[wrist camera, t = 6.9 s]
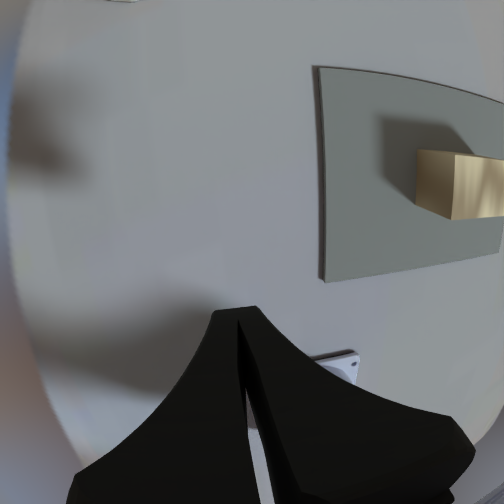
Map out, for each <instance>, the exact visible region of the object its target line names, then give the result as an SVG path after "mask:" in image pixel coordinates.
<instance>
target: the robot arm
mask: <svg viewBox="0 0 504 504" xmlns="http://www.w3.org/2000/svg"><path fill="white" fill-rule="evenodd" d="M359 361H360V356H359V354H358V353H350V354H346V355H341V356H337V357H332V358H327V359H322V360H317V361H314V360H312V359H311V358H310V357H308V356H307V355H306V354H305V353H303V352H302V351H301V350H299V349H298V348H297V347H296V346H295V345H294V344H293V343H291V342H290V341H289V340H288V339H287V338H286V337H285V336H284V335H283V334H282V333H281V332H280V331H279V330H278V329H277V328H276V327H275V326H274V325H273V324H272V323H271V322H270V321H269V320H268V319H267V317H266V316H265V315H264V314H263V313H262V311H261V310H260V309H259V308H258V307H257V306H248V307H240V308H232V309H223V310H215V311H214V312H213V313H212V316H211V320H210V323H209V325H208V328H207V330H206V333H205V335H204V337H203V339H202V341H201V343H200V345H199V347H198V349H197V351H196V353H195V355H194V357H193V358H192V360H191V362H190V363H189V365H188V367H187V368H186V370H185V372H184V373H183V375H182V376H181V378H180V379H179V381H178V382H177V383H176V385H175V386H174V388H173V389H172V390H171V391H170V393H169V394H168V395H167V397H166V398H165V399H164V400H163V401H162V403H161V404H160V405H159V406H158V407H157V408H156V409H155V411H154V412H153V413H152V414H151V415H150V416H149V417H148V418H147V419H146V420H145V421H144V422H143V423H142V424H141V425H140V426H139V427H138V428H137V429H136V430H134V431H133V432H132V433H131V434H130V435H129V436H128V437H127V438H126V439H124V440H123V441H122V442H121V443H120V444H119V445H117V446H116V447H115V448H114V449H113V450H111V451H110V452H109V453H107V454H106V455H104V456H103V457H101V458H100V459H98V460H97V461H95V462H94V463H92V464H91V465H89V466H88V467H86V468H85V469H83V470H82V471H80V472H78V473H77V474H75V476H74V479H73V482H72V485H71V487H70V490H69V493H68V497H67V501H66V504H261V503H260V498H259V493H258V488H257V483H256V477H255V472H254V467H253V461H252V456H251V451H250V445H249V439H248V426H247V408H246V391H247V394H248V398H249V401H250V405H251V408H252V411H253V415H254V418H255V422H256V425H257V428H258V432H259V435H260V438H261V441H262V445H263V449H264V453H265V457H266V462H267V467H268V472H269V477H270V482H271V487H272V492H273V497H274V502H275V504H452V503H453V502H454V496H453V494H452V493H451V491H450V489H449V488H450V487H451V486H452V485H453V484H454V483H455V482H456V481H457V480H458V478H459V477H460V476H461V475H462V474H463V473H464V472H465V470H466V469H467V468H468V467H469V465H470V464H471V462H472V461H473V458H474V456H475V452H476V450H475V448H474V446H473V444H472V443H471V442H470V440H469V439H468V437H467V436H466V434H465V433H464V432H463V430H462V429H461V428H460V426H459V425H458V424H457V423H456V422H455V421H454V419H453V418H452V417H451V416H446V415H442V414H437V413H433V412H428V411H424V410H420V409H416V408H412V407H408V406H405V405H402V404H399V403H396V402H393V401H391V400H388V399H385V398H382V397H380V396H377V395H375V394H372V393H370V392H368V391H366V390H364V389H362V388H359V387H357V386H355V382H356V377H357V372H358V366H359ZM353 362H354V363H353ZM245 387H246V389H245ZM475 504H504V483H502V484H501V485H500V486H498V487H497V488H496V489H494V490H493V491H492V492H491V493H489V494H488V495H486V496H485V497H483V498H482V499H480V500H479V501H478V502H476V503H475Z"/></svg>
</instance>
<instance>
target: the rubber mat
mask: <svg viewBox="0 0 504 504" xmlns="http://www.w3.org/2000/svg"><path fill="white" fill-rule="evenodd" d="M318 78H319V90H320V104H321V120H322V140H323V167H324V272H323V281H324V282H325V283H330V282H337V281H343V280H350V279H356V278H363V277H369V276H375V275H381V274H388V273H394V272H399V271H405V270H411V269H417V268H422V267H428V266H433V265H439V264H444V263H449V262H455V261H460V260H465V259H470V258H475V257H480V256H485V255H490V254H494V253H499V249H500V244H501V238H502V232H503V225H504V216H498V217H485V218H473V219H461V220H449V219H447V218H445V217H442V216H440V215H438V214H435V213H433V212H431V211H428V210H426V209H423V208H421V207H418V206H416V205H415V202H416V179H417V149H422V150H436V151H447V152H457V153H467V154H475V155H481V156H486V157H491V158H496V159H501V160H504V104H501V103H498V102H495V101H493V100H490V99H486V98H483V97H480V96H477V95H474V94H470V93H467V92H463V91H460V90H456V89H452V88H449V87H445V86H441V85H436V84H432V83H428V82H423V81H418V80H413V79H408V78H403V77H397V76H391V75H385V74H378V73H371V72H363V71H354V70H344V69H333V68H318Z"/></svg>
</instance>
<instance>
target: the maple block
mask: <svg viewBox="0 0 504 504" xmlns="http://www.w3.org/2000/svg"><path fill="white" fill-rule="evenodd" d="M415 205H416V206H418V207H421V208H423V209H426V210H428V211H431V212H433V213H435V214H438V215H440V216H442V217H445V218H447V219H449V220H461V219H473V218H485V217H498V216H504V160H501V159H496V158H491V157H486V156H481V155H475V154H467V153H457V152H447V151H436V150H422V149H417V179H416V202H415Z"/></svg>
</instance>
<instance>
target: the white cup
mask: <svg viewBox="0 0 504 504" xmlns="http://www.w3.org/2000/svg"><path fill="white" fill-rule="evenodd" d="M111 1H124V2H135V1H138V0H111Z"/></svg>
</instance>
